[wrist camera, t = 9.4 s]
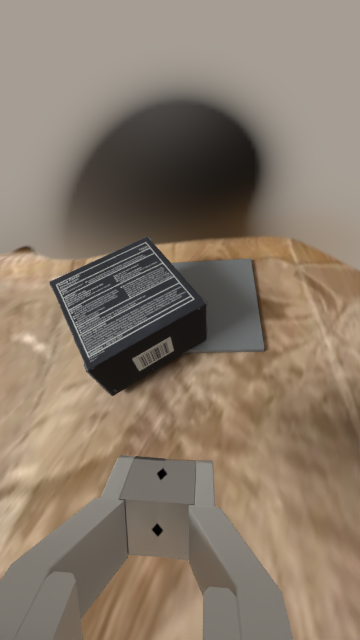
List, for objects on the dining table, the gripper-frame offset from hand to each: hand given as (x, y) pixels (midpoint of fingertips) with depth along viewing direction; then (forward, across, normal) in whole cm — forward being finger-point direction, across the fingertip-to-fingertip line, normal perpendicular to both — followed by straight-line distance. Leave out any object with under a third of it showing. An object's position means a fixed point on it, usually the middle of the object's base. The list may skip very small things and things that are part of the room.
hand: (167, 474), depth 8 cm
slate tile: (+22, +2, -2) cm, 22 cm away
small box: (+14, +3, +1) cm, 14 cm away
